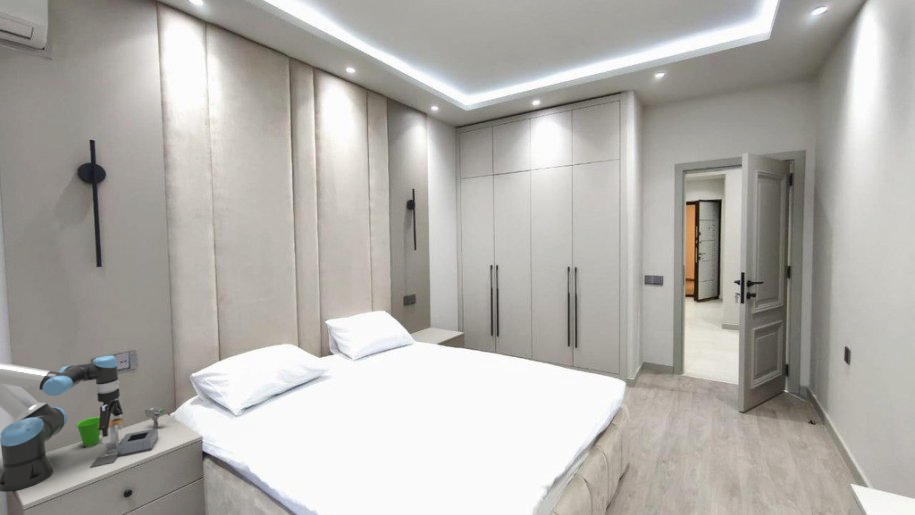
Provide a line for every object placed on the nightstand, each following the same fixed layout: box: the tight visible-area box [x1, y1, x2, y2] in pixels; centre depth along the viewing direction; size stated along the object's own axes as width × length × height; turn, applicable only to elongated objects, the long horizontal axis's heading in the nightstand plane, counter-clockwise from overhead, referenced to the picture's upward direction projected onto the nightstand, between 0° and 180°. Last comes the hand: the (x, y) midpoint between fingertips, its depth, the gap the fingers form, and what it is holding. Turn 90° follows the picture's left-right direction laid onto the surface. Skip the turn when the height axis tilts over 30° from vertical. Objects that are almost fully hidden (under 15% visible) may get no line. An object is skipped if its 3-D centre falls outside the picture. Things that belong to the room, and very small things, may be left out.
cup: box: [76, 416, 101, 447], centre depth 187 cm, size 9×9×11 cm
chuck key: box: [98, 417, 124, 454], centre depth 181 cm, size 4×8×14 cm, turn 115°
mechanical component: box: [144, 406, 165, 429], centre depth 202 cm, size 3×10×10 cm, turn 78°
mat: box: [89, 453, 119, 469], centre depth 173 cm, size 8×8×1 cm
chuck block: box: [116, 427, 159, 458], centre depth 183 cm, size 12×12×5 cm
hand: (112, 435), depth 181 cm, fingers open, 13 cm apart
